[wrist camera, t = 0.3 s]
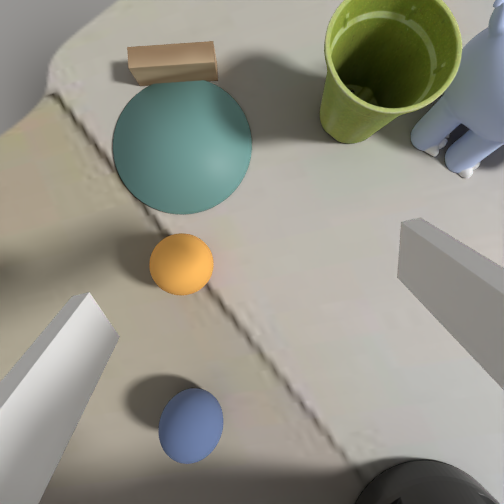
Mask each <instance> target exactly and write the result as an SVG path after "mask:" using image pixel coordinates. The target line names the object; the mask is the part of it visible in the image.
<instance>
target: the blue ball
mask: <svg viewBox="0 0 504 504" xmlns="http://www.w3.org/2000/svg"><path fill="white" fill-rule="evenodd" d="M222 430H223V413H222V409H221V407H220V404H219V402H218V401H217V399H216V398H215V397H214V396H213V395H212V394H211V393H209V392H208V391H206V390H203V389H198V388H191V389H187V390H184V391H182V392H180V393H178V394H177V395H175V396H174V397H173V398H172V399H171V400H170V401H169V402H168V404H167V405H166V407H165V408H164V410H163V412H162V415H161V418H160V422H159V439H160V443H161V446H162V448H163V450H164V451H165V453H166V454H167V455H168V456H169V457H170V458H171V459H173V460H174V461H176V462H179V463H184V464H190V463H195V462H198V461H200V460H202V459H204V458H205V457H206V456H208V455H209V454H210V453H211V452H212V451H213V449H214V448H215V447H216V445H217V443H218V441H219V439H220V437H221V434H222Z"/></svg>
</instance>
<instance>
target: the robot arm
mask: <svg viewBox="0 0 504 504" xmlns="http://www.w3.org/2000/svg"><path fill="white" fill-rule="evenodd" d="M397 278H398V279H399V280H400V281H401V282H402V283H403V284H404V285H405V286H406V287H407V288H408V289H409V290H410V291H411V292H412V293H413V295H414V296H415V297H416V298H417V299H418V300H419V301H420V302H421V303H422V304H423V305H424V306H425V307H426V308H427V309H428V310H429V311H430V313H431V314H432V315H433V316H434V317H435V318H436V319H437V320H438V321H439V322H440V323H441V324H442V325H443V326H444V327H445V328H446V329H447V331H448V332H449V333H450V334H451V335H452V336H453V337H454V338H455V339H456V340H457V341H458V342H459V343H460V344H461V345H462V346H463V347H464V348H465V350H466V351H467V352H468V353H469V354H470V355H471V356H472V357H473V358H474V359H475V360H476V361H477V362H478V363H479V364H480V365H481V366H482V368H483V369H484V370H485V371H486V372H487V373H488V374H489V375H490V376H491V377H492V378H493V379H494V380H495V381H496V382H497V383H498V384H499V386H500V387H501V388H502V389H503V390H504V268H503V267H501V266H500V265H498V264H496V263H495V262H493V261H491V260H490V259H488V258H486V257H485V256H483V255H481V254H480V253H478V252H476V251H475V250H473V249H472V248H470V247H468V246H467V245H465V244H463V243H462V242H460V241H458V240H457V239H455V238H453V237H452V236H450V235H448V234H447V233H445V232H444V231H442V230H440V229H439V228H437V227H435V226H434V225H432V224H430V223H429V222H427V221H425V220H424V219H422V218H417V219H412V220H408V221H404V222H401V231H400V246H399V260H398V274H397ZM119 337H120V336H119V335H118V333H117V332H116V330H115V329H114V328H113V326H112V325H111V323H110V322H109V320H108V319H107V317H106V316H105V314H104V313H103V311H102V310H101V308H100V307H99V306H98V304H97V303H96V301H95V300H94V298H93V297H92V295H91V294H90V292H88V293H84V294H79V295H75V296H72V297H71V298H70V300H69V301H68V302H67V303H66V304H65V305H64V307H63V308H62V309H61V310H60V311H59V313H58V314H57V315H56V316H55V317H54V319H53V320H52V321H51V322H50V323H49V325H48V326H47V327H46V328H45V329H44V331H43V332H42V333H41V334H40V335H39V337H38V338H37V339H36V340H35V341H34V343H33V344H32V345H31V346H30V347H29V349H28V350H27V351H26V352H25V353H24V355H23V356H22V357H21V358H20V359H19V361H18V362H17V363H16V364H15V365H14V367H13V368H12V369H11V370H10V371H9V373H8V374H7V375H6V376H5V377H4V378H3V380H2V381H1V382H0V504H39V502H40V500H41V498H42V496H43V494H44V492H45V489H46V487H47V485H48V483H49V481H50V479H51V477H52V475H53V473H54V471H55V469H56V467H57V465H58V463H59V461H60V459H61V457H62V455H63V452H64V450H65V448H66V446H67V444H68V442H69V440H70V438H71V436H72V434H73V432H74V430H75V428H76V426H77V424H78V422H79V420H80V418H81V415H82V413H83V411H84V409H85V407H86V405H87V403H88V401H89V399H90V397H91V395H92V393H93V391H94V389H95V387H96V385H97V383H98V380H99V378H100V376H101V374H102V372H103V370H104V368H105V366H106V364H107V362H108V360H109V358H110V356H111V354H112V352H113V350H114V348H115V346H116V343H117V341H118V339H119ZM355 504H500V503H499V502H498V501H497V500H496V499H495V498H494V497H493V496H492V495H491V494H490V493H489V492H488V491H487V490H486V489H485V488H484V487H483V486H482V485H481V484H480V483H478V482H477V481H476V480H475V479H474V478H473V477H471V476H470V475H468V474H467V473H465V472H464V471H462V470H460V469H458V468H456V467H454V466H451V465H448V464H445V463H441V462H435V461H412V462H407V463H403V464H400V465H397V466H395V467H392V468H390V469H388V470H387V471H385V472H383V473H382V474H380V475H379V476H378V477H376V478H375V479H374V480H373V481H372V482H371V483H370V484H369V485H368V486H367V487H366V488H365V489H364V491H363V492H362V493H361V495H360V496H359V498H358V500H357V501H356V503H355Z"/></svg>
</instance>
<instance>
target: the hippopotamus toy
mask: <svg viewBox="0 0 504 504" xmlns="http://www.w3.org/2000/svg"><path fill="white" fill-rule="evenodd" d="M493 7H494V8H495V9H494V11H493V13H492V15H491V17H490V20H489V26H488V28H486V29H484V30H483V31H482V32H480V33H479V34H477V35H476V36H475V37H474V38H472V39H471V40H470V41H469V42H468V43H467V44H466V45H465V46H464V48H463V49H462V56H461V62H460V66H459V69H458V71H457V74H456V76H455V78H454V79H453V81H452V82H451V84H450V85H449V87H448V88H447V89H446V90H445V91H444V95H443V96H442V97H441V98H440V99H439V100H438V101H437V102H436V104H435V105H434V106H433V107H432V108H431V109H430V110H429V111H428V112H427V113H426V114H425V115H424V116H423V117H422V118H421V119H420V120H419V122H418V123H417V124H416V125H415V126H414V128H413V129H412V132H411V141H412V144H413V145H414V146H415V147H416V148H417V149H419V150H422V151H425V152H426V153H428V154H430V155H431V156H433V157H435V156H437V155H438V154H439V149H441V148H443V147H445V145H446V144H447V139H446V138H448V137H449V136H450V133H451V132H452V131H453V130H454V129H455V128H456V127H457V126H459V125H460V124H461V123H462V124H464V125H465V126H466V127H468V128H469V129H470V130H468V131H467V132H466V133H465V134H464V135H463V136H461V137H460V138H459V139H458V140H457V141H456V142H454V143H453V144H452V145H451V146H450V147H449V148H448V150H447V152H446V154H445V163H446V166H447V167H448V169H449V170H451V171H452V172H455V173H458V174H459V175H460V176H461V177H464V178H469V177H470V176H471V175H472V174H473V170H474V169H477V168H478V167H479V165H480V163H481V160H482V159H484V158H485V157H487V156H488V155H489V154H491V153H492V152H493V151H495V150H496V149H498V148H499V147H500V146H502V145H503V144H504V0H496V1H495V2H494V4H493Z"/></svg>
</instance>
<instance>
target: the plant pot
mask: <svg viewBox="0 0 504 504" xmlns="http://www.w3.org/2000/svg"><path fill="white" fill-rule="evenodd" d="M324 53H325V60H326V64H327V76H326V81H325V86H324V91H323V96H322V101H321V107H320V120H321V124H322V126H323V128H324V130H325V131H326V132H327V133H328V134H330V135H331V136H332V137H333V138H335V139H336V140H337V141H339V142H342V143H358V142H361V141H363V140H365V139H367V138H369V137H370V136H371V135H373V134H374V133H375V132H377V131H378V130H380V129H381V128H382V127H384V126H385V125H387V124H388V123H389V122H391V121H392V120H394V119H395V118H397V117H398V116H400V115H402V114H406V113H410V112H413V111H416V110H419V109H421V108H423V107H425V106H427V105H428V104H430V103H431V102H433V101H434V100H435V99H437V98H438V97H439V96H440V95H441V94H442V93H443V92H444V91H445V90H446V89H447V88H448V87H449V85H450V84H451V82H452V81H453V79H454V78H455V76H456V74H457V71H458V69H459V66H460V62H461V56H462V39H461V34H460V30H459V26H458V23H457V21H456V19H455V17H454V16H453V14H452V12H451V11H450V9H449V8H448V6H447V5H446V4H445V3H444V2H443V1H442V0H344V1H343V2H342V3H341V4H340V5H339V6H338V8H337V9H336V11H335V12H334V14H333V16H332V17H331V19H330V22H329V24H328V28H327V31H326V36H325V44H324ZM348 89H352V90H354V93H352V92H350V91H349V90H348Z"/></svg>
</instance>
